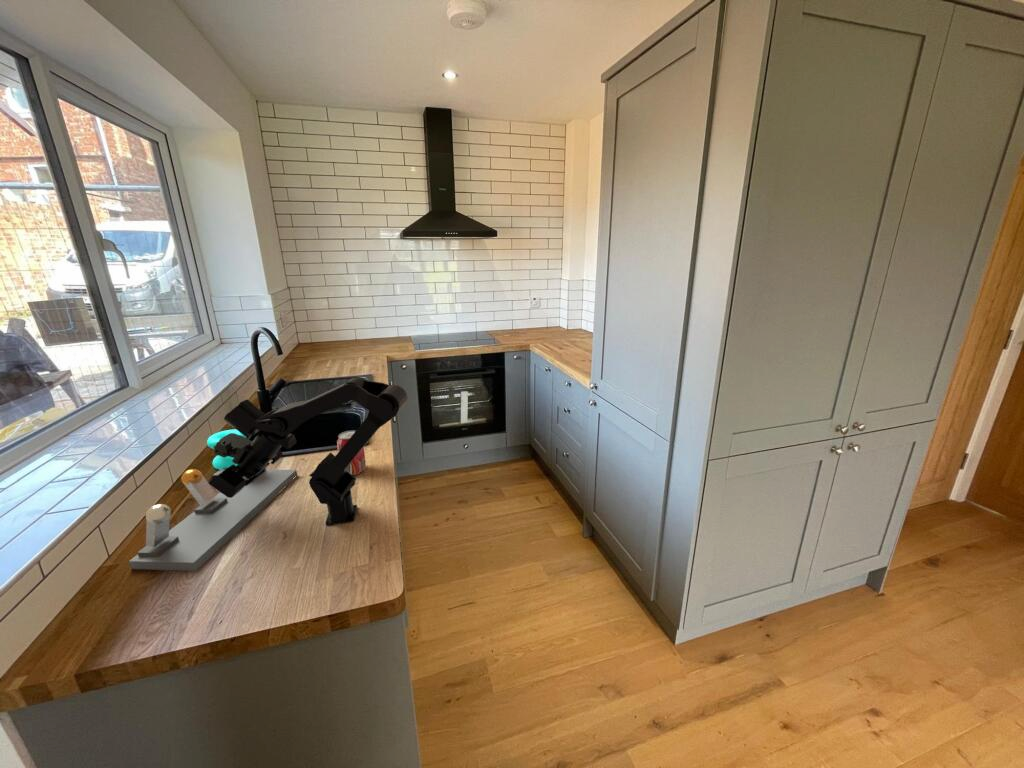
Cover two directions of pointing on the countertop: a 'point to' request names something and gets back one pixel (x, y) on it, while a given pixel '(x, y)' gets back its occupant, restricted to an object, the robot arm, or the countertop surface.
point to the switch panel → (212, 525)
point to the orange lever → (198, 486)
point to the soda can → (359, 461)
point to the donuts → (218, 460)
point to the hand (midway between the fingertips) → (231, 488)
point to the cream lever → (157, 524)
